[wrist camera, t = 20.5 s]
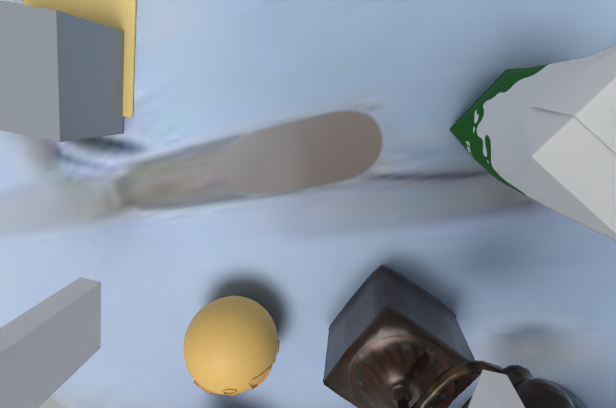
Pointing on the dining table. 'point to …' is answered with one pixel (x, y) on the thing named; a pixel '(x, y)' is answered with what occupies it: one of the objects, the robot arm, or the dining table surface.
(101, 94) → the grey cube
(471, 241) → the dining table surface
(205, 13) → the dining table surface
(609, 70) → the milk carton
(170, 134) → the dining table surface
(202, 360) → the stress ball
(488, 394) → the robot arm
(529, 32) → the dining table surface
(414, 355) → the coffee grinder
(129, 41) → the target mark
